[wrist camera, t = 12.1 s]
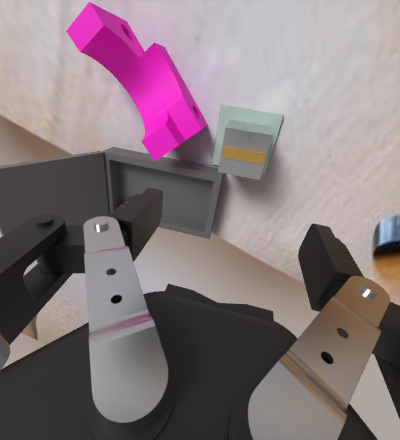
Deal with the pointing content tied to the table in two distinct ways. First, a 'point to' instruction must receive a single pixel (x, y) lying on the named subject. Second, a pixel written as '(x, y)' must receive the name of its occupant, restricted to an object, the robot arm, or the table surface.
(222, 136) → the mat
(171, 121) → the toy block
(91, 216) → the case
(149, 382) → the robot arm
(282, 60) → the table surface
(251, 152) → the block
